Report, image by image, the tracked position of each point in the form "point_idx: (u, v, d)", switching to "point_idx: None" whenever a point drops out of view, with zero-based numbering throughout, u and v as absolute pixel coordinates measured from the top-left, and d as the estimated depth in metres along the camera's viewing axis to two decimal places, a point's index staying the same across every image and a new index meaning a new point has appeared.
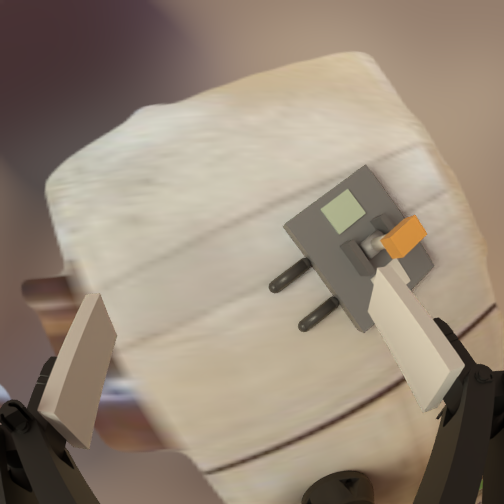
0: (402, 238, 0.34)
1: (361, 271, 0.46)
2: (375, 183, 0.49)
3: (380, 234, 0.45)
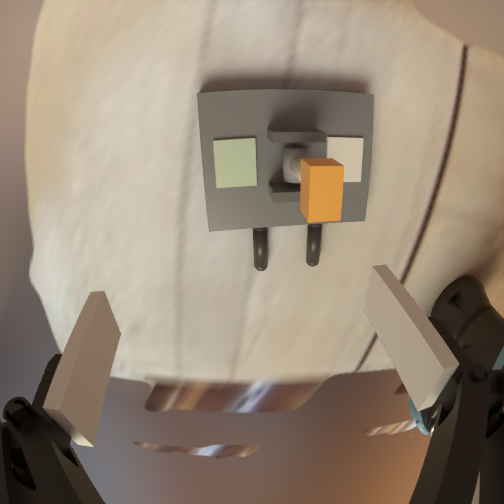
0: (321, 206, 0.26)
1: None
2: (229, 96, 0.32)
3: (291, 153, 0.33)
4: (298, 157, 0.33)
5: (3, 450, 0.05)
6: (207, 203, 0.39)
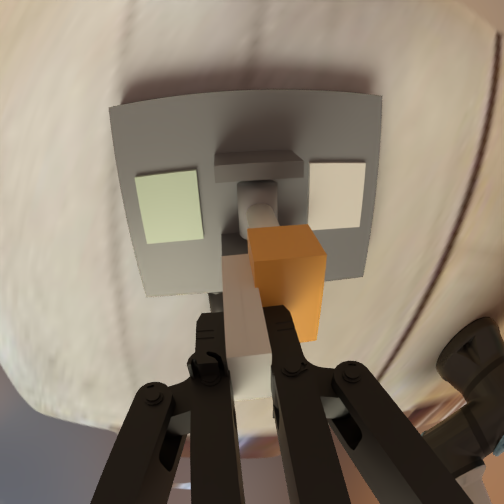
0: None
1: None
2: (155, 108, 0.20)
3: (249, 196, 0.21)
4: (259, 202, 0.22)
5: (161, 428, 0.07)
6: (138, 262, 0.27)
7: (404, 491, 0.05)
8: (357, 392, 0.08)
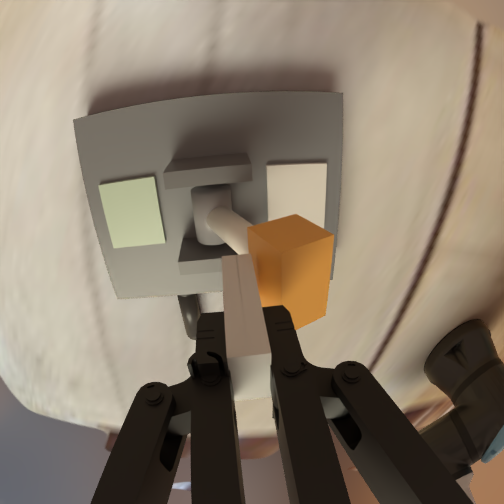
0: (300, 308, 0.15)
1: None
2: (114, 119, 0.21)
3: (208, 201, 0.21)
4: (219, 205, 0.22)
5: (162, 428, 0.07)
6: (107, 266, 0.27)
7: (403, 491, 0.05)
8: (357, 392, 0.08)
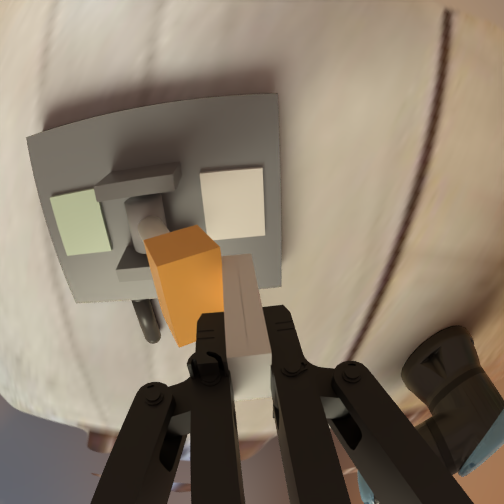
0: (194, 320, 0.15)
1: None
2: (59, 135, 0.21)
3: (137, 211, 0.21)
4: (148, 215, 0.22)
5: (162, 428, 0.07)
6: (64, 272, 0.27)
7: (404, 491, 0.05)
8: (357, 392, 0.08)
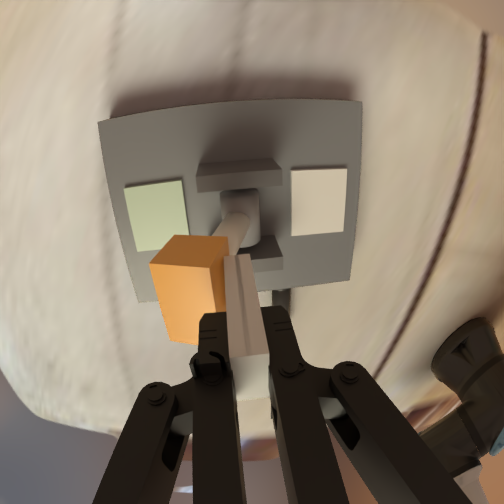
0: (184, 324, 0.15)
1: None
2: (141, 122, 0.22)
3: (225, 203, 0.23)
4: (234, 210, 0.23)
5: (164, 428, 0.07)
6: (130, 269, 0.28)
7: (402, 492, 0.05)
8: (355, 392, 0.08)
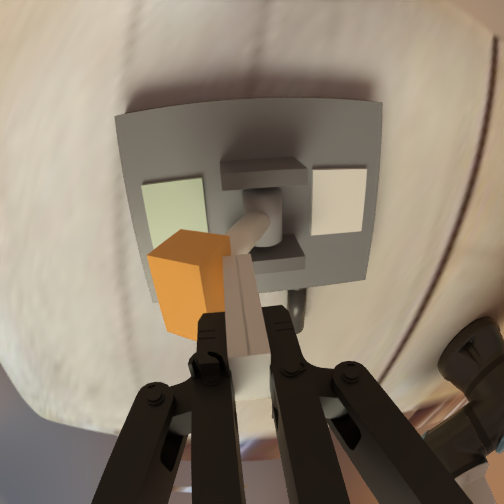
0: (178, 318, 0.16)
1: None
2: (160, 117, 0.21)
3: (246, 201, 0.22)
4: (254, 209, 0.22)
5: (163, 428, 0.07)
6: (145, 269, 0.27)
7: (403, 491, 0.05)
8: (356, 392, 0.08)
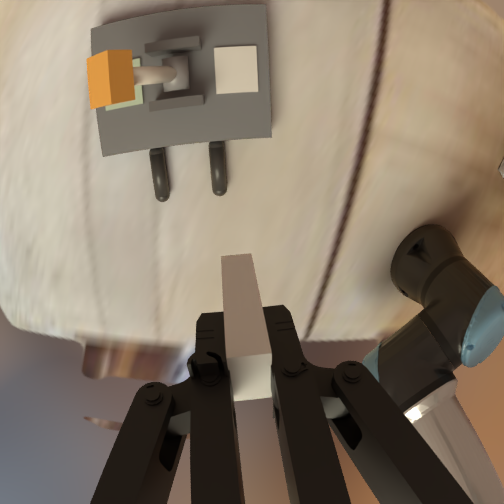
0: (96, 92, 0.21)
1: None
2: (117, 26, 0.27)
3: (162, 62, 0.28)
4: (166, 65, 0.28)
5: (161, 428, 0.07)
6: (99, 127, 0.33)
7: (403, 491, 0.05)
8: (357, 392, 0.08)
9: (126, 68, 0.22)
